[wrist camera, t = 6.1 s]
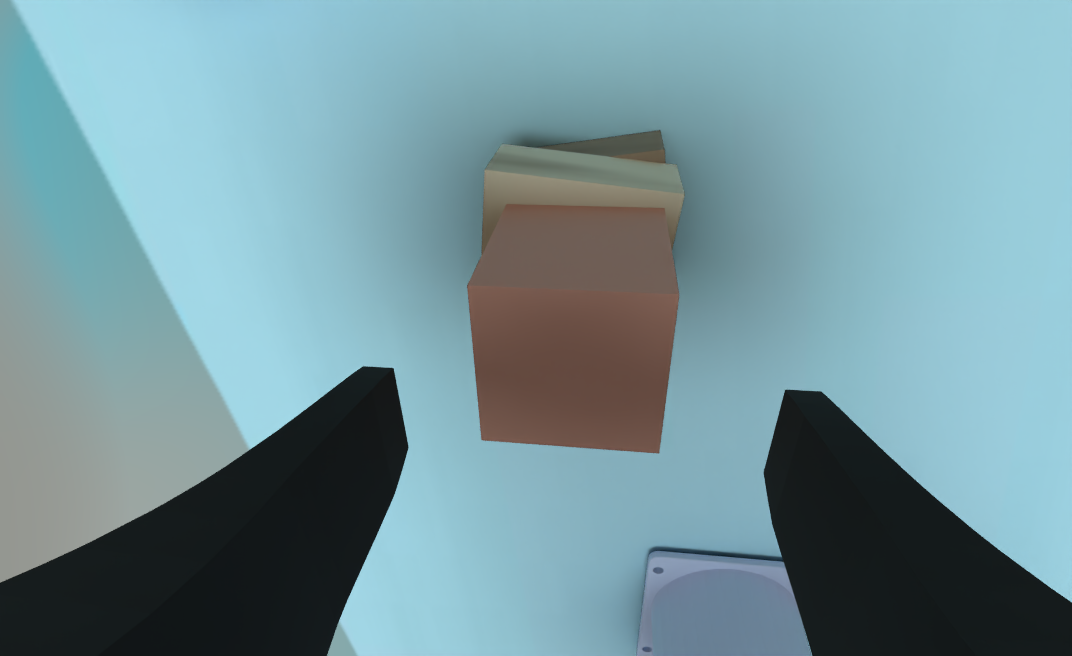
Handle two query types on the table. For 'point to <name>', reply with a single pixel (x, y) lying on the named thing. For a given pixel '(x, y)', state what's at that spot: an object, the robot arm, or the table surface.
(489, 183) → the tower top
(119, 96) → the table surface
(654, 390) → the block
